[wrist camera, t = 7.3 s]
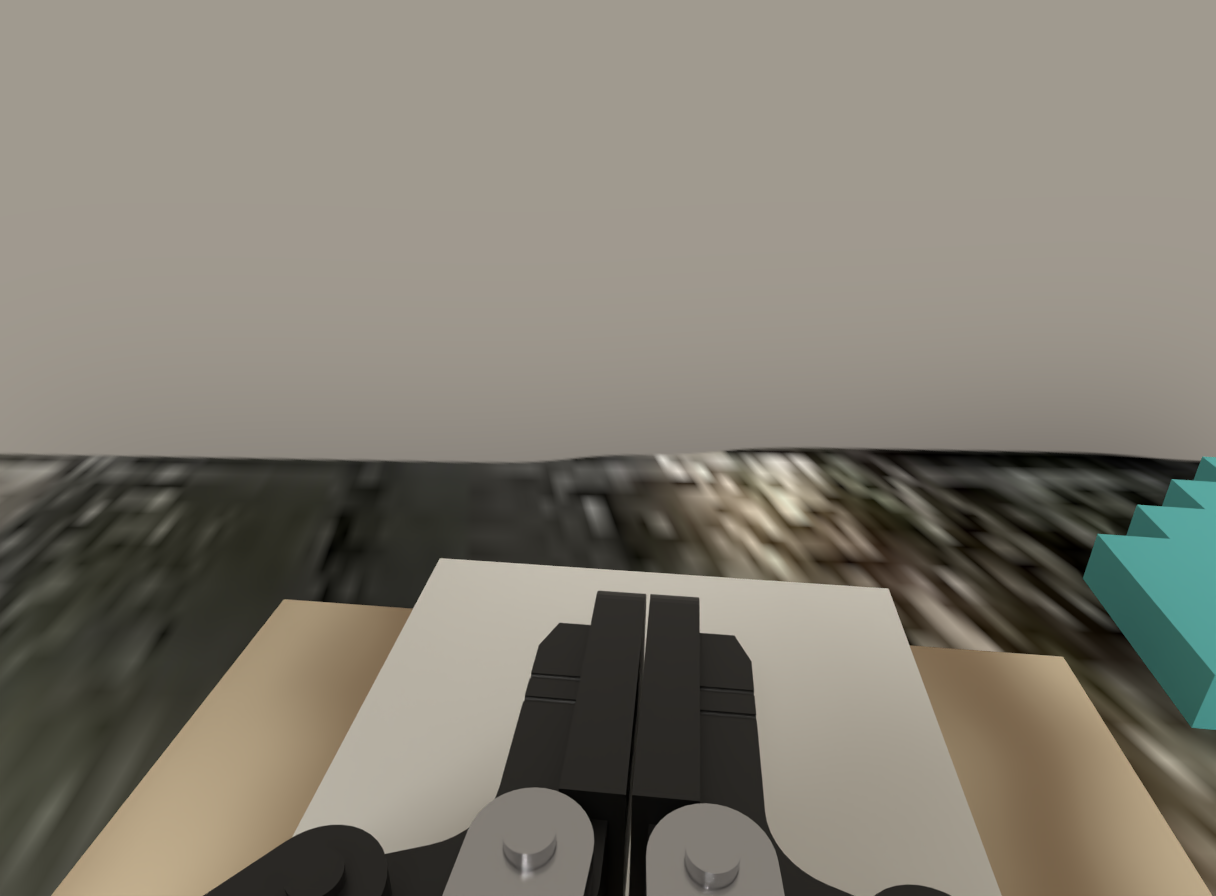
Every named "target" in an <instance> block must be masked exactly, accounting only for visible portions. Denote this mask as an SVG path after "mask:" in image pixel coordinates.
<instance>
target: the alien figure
mask: <svg viewBox="0 0 1216 896" xmlns="http://www.w3.org/2000/svg"><path fill="white" fill-rule="evenodd" d="M1083 579H1084V581H1085V582H1086V583H1087V585H1088V586H1089V587H1090V589H1091V590H1092V592H1093V593H1094V594H1095V596H1096V597H1097V598H1098V600H1099V601H1100V603H1101V604H1102V605H1103V607H1104V608H1105V609H1106V611H1107V612H1108V614H1109V615H1110V616H1111V618H1112V619H1113V620H1114V622H1115V623H1116V625H1117V626H1118V627H1119V629H1120V630H1121V631H1122V633H1123V634H1124V636H1125V637H1126V638H1127V640H1128V641H1129V642H1130V644H1131V645H1132V647H1133V648H1134V649H1135V651H1136V652H1137V653H1138V655H1139V656H1140V658H1141V659H1142V660H1143V662H1144V663H1145V664H1146V666H1147V667H1148V669H1149V670H1150V671H1151V673H1152V674H1153V675H1154V677H1155V678H1156V679H1157V681H1158V682H1159V684H1160V685H1161V686H1162V688H1163V689H1164V690H1165V692H1166V693H1167V695H1168V696H1169V697H1170V699H1171V700H1172V701H1173V703H1174V704H1175V706H1176V707H1177V708H1178V710H1179V711H1180V712H1181V714H1182V715H1183V717H1184V718H1185V719H1186V721H1187V722H1188V723H1189V725H1190V726H1191V728H1201V729H1212V730H1216V457H1202V459H1201V462H1200V465H1199V467H1198V470H1197V472H1196V475H1195V478H1194V480H1193V481H1191V480H1175V479H1172V480H1171V483H1170V485H1169V488H1168V491H1167V494H1166V496H1165V499H1164V502H1163V505H1162V506H1147V505H1137V506H1136V509H1135V512H1134V515H1133V518H1132V521H1131V524H1130V526H1129V529H1128V532H1127V535H1126V536H1121V535H1106V534H1097V537H1096V540H1095V543H1094V546H1093V549H1092V552H1091V555H1090V558H1089V561H1088V564H1087V568H1086V571H1085V574H1084V577H1083Z"/></svg>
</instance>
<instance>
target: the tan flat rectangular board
mask: <svg viewBox="0 0 1216 896" xmlns="http://www.w3.org/2000/svg"><path fill="white" fill-rule="evenodd" d="M412 610H413V609H409V608H395V607H382V606H368V605H355V604H341V603H328V602H314V601H301V600H287V599H284V600H283V601H282V602H281V604H280V605H279V606H278V607H277V609H276V610H275V611H274V613H273V614H272V615H271V616H270V618H269V619H268V620H267V621H266V623H265V624H264V625H263V627H262V628H261V629H260V630H259V632H258V633H257V634H256V635H255V637H254V638H253V639H252V641H251V642H250V643H249V644H248V646H247V647H246V648H245V649H244V651H243V652H242V653H241V655H240V656H239V657H238V658H237V660H236V661H235V662H234V663H233V665H232V666H231V667H230V669H229V670H228V671H227V672H226V674H225V675H224V676H223V677H222V679H221V680H220V681H219V683H218V684H217V685H216V686H215V688H214V689H213V690H212V692H211V693H210V694H209V695H208V697H207V698H206V699H205V700H204V702H203V703H202V704H201V706H200V707H199V708H198V709H197V711H196V712H195V713H194V714H193V716H192V717H191V718H190V720H189V721H188V722H187V723H186V725H185V726H184V727H183V728H182V730H181V731H180V732H179V734H178V735H177V736H176V737H175V739H174V740H173V741H172V742H171V744H170V745H169V746H168V748H167V749H166V750H165V751H164V753H163V754H162V755H161V756H160V758H159V759H158V760H157V762H156V763H155V764H154V765H153V767H152V768H151V769H150V770H149V772H148V773H147V774H146V776H145V777H144V778H143V779H142V781H141V782H140V783H139V784H138V786H137V787H136V788H135V790H134V791H133V792H132V793H131V795H130V796H129V797H128V798H127V800H126V801H125V802H124V804H123V805H122V806H121V807H120V809H119V810H118V811H117V813H116V814H115V815H114V816H113V818H112V819H111V820H110V821H109V823H108V824H107V825H106V827H105V828H104V829H103V830H102V832H101V833H100V834H99V835H98V837H97V838H96V839H95V841H94V842H93V843H92V844H91V846H90V847H89V848H88V849H87V851H86V852H85V853H84V855H83V856H82V857H81V858H80V860H79V861H78V862H77V863H76V865H75V866H74V867H73V869H72V870H71V871H70V872H69V874H68V875H67V876H66V877H65V879H64V880H63V881H62V883H61V884H60V885H59V886H58V888H57V889H56V890H55V891H54V893H53V894H52V895H51V896H203V895H205V894H206V893H208V892H209V891H211V890H212V889H214V888H215V887H217V886H218V885H220V884H221V883H223V882H225V881H226V880H228V879H229V878H231V877H232V876H234V875H235V874H237V873H238V872H240V871H241V870H243V869H244V868H246V867H247V866H249V865H250V864H252V863H253V862H255V861H256V860H258V859H259V858H261V857H262V856H264V855H265V854H267V853H268V852H270V851H272V850H273V849H275V848H276V847H278V846H279V845H281V844H282V843H284V842H285V841H287V840H289V839H290V838H292V836H293V834H294V833H295V831H296V829H297V827H298V825H299V823H300V821H301V819H302V817H303V816H304V814H305V812H306V810H307V808H308V806H309V804H310V802H311V800H312V799H313V797H314V795H315V793H316V791H317V789H318V787H319V785H320V784H321V782H322V780H323V778H324V776H325V774H326V772H327V770H328V768H329V767H330V765H331V763H332V761H333V759H334V757H335V755H336V753H337V751H338V750H339V748H340V746H341V744H342V742H343V740H344V738H345V736H346V734H347V733H348V731H349V729H350V727H351V725H352V723H353V721H354V719H355V718H356V716H357V714H358V712H359V710H360V708H361V706H362V704H363V702H364V701H365V699H366V697H367V695H368V693H369V691H370V689H371V687H372V685H373V684H374V682H375V680H376V678H377V676H378V674H379V672H380V670H381V669H382V667H383V665H384V663H385V661H386V659H387V657H388V655H389V653H390V652H391V650H392V648H393V646H394V644H395V642H396V640H397V638H398V636H399V635H400V633H401V631H402V629H403V627H404V625H405V623H406V621H407V619H408V618H409V616H410V614H411V612H412ZM910 648H911V651H912V654H913V656H914V659H915V662H916V665H917V667H918V670H919V673H920V675H921V678H922V681H923V684H924V686H925V689H926V692H927V694H928V697H929V700H930V703H931V705H932V708H933V711H934V713H935V716H936V719H937V722H938V724H939V727H940V730H941V732H942V735H943V738H944V741H945V743H946V746H947V749H948V751H949V754H950V757H951V760H952V762H953V765H954V768H955V770H956V773H957V776H958V778H959V781H960V784H961V787H962V789H963V792H964V795H965V797H966V800H967V803H968V806H969V808H970V811H971V814H972V816H973V819H974V822H975V825H976V827H977V830H978V833H979V835H980V838H981V841H982V844H983V846H984V849H985V852H986V854H987V857H988V860H989V863H990V865H991V868H992V871H993V873H994V876H995V879H996V881H997V884H998V887H999V890H1000V892H1001V895H1002V896H1212V894H1211V893H1210V891H1209V890H1208V888H1207V886H1206V885H1205V883H1204V882H1203V880H1202V878H1201V877H1200V875H1199V874H1198V872H1197V870H1196V869H1195V867H1194V866H1193V864H1192V862H1191V861H1190V859H1189V858H1188V856H1187V854H1186V853H1185V851H1184V850H1183V848H1182V846H1181V845H1180V843H1179V842H1178V840H1177V838H1176V837H1175V835H1174V834H1173V832H1172V830H1171V829H1170V827H1169V826H1168V824H1167V822H1166V821H1165V819H1164V818H1163V816H1162V814H1161V813H1160V811H1159V810H1158V808H1157V806H1156V805H1155V803H1154V802H1153V800H1152V798H1151V797H1150V795H1149V794H1148V792H1147V790H1146V789H1145V787H1144V786H1143V784H1142V782H1141V781H1140V779H1139V778H1138V776H1137V774H1136V773H1135V771H1134V770H1133V768H1132V766H1131V765H1130V763H1129V762H1128V760H1127V758H1126V757H1125V755H1124V754H1123V752H1122V750H1121V749H1120V747H1119V746H1118V744H1117V742H1116V741H1115V739H1114V737H1113V736H1112V734H1111V733H1110V731H1109V729H1108V728H1107V726H1106V725H1105V723H1104V721H1103V720H1102V718H1101V717H1100V715H1099V713H1098V712H1097V710H1096V709H1095V707H1094V705H1093V704H1092V702H1091V701H1090V699H1089V697H1088V696H1087V694H1086V693H1085V691H1084V689H1083V688H1082V686H1081V685H1080V683H1079V681H1078V680H1077V678H1076V677H1075V675H1074V673H1073V672H1072V670H1071V669H1070V667H1069V665H1068V664H1067V662H1066V661H1065V659H1064V657H1058V656H1044V655H1031V654H1017V653H1004V652H990V651H977V650H963V649H950V648H936V647H923V646H910Z"/></svg>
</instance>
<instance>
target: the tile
mask: <svg viewBox="0 0 1216 896" xmlns="http://www.w3.org/2000/svg"><path fill="white" fill-rule="evenodd" d="M597 591H612V592H626V593H641V594H646V625H645V648H646V637H647V626H648V615H649V604H650V594H658V595H672V596H686V597H699V601H700V633H708V634H722V635H735V637H736V639H737V640H738V642H739V643H740V645H741V646H742V648H743V649H744V651H745V652H746V654H747V655H748V657H749V658H750V660H751V661H752V672H753V683H754V696H755V705H756V720H757V727H758V738H759V749H760V760H761V771H762V782H763V793H764V804H765V814H766V819H767V823H768V826H769V829H770V832H771V834H772V836H773V838H774V839H775V841H776V843H777V844H778V846H779V847H780V849H781V850H782V851H783V853H784V854H785V855H786V856H787V857H788V858H789V859H790V860H791V861H792V862H793V863H794V864H795V865H796V866H798V867H799V868H800V869H801V870H803V871H804V872H806V873H807V874H809V875H810V876H812V877H813V878H815V879H817V880H819V881H821V882H823V883H825V884H827V885H830V886H832V887H835V888H837V889H839V890H842V891H844V892H847V893H849V894H852V895H854V896H875V895H876V894H877V893H879V892H881V891H882V890H884V889H887V888H890V887H893V886H897V885H906V884H909V885H921V886H926V887H931V888H934V889H937V890H940V891H942V892H945V893H947V894H949V895H951V896H1002V895H1001V892H1000V890H999V887H998V884H997V881H996V879H995V876H994V873H993V871H992V868H991V865H990V863H989V860H988V857H987V854H986V852H985V849H984V846H983V844H982V841H981V838H980V835H979V833H978V830H977V827H976V825H975V822H974V819H973V816H972V814H971V811H970V808H969V806H968V803H967V800H966V797H965V795H964V792H963V789H962V787H961V784H960V781H959V778H958V776H957V773H956V770H955V768H954V765H953V762H952V760H951V757H950V754H949V751H948V749H947V746H946V743H945V741H944V738H943V735H942V732H941V730H940V727H939V724H938V722H937V719H936V716H935V713H934V711H933V708H932V705H931V703H930V700H929V697H928V694H927V692H926V689H925V686H924V684H923V681H922V678H921V675H920V673H919V670H918V667H917V665H916V662H915V659H914V656H913V654H912V651H911V648H910V646H909V643H908V640H907V638H906V635H905V632H904V629H903V627H902V624H901V621H900V619H899V616H898V613H897V610H896V608H895V605H894V602H893V600H892V597H891V594H890V591H889V589H886V588H871V587H856V586H842V585H827V584H812V583H797V582H783V581H768V580H753V579H738V578H724V577H709V576H694V575H679V574H665V573H650V572H635V571H620V570H606V569H591V568H576V567H561V566H547V565H532V564H517V563H502V562H488V561H473V560H458V559H443V558H440V559H439V561H438V563H437V565H436V567H435V569H434V570H433V572H432V574H431V576H430V578H429V580H428V582H427V584H426V586H425V587H424V589H423V591H422V593H421V595H420V597H419V599H418V601H417V603H416V604H415V606H414V608H413V610H412V612H411V614H410V616H409V618H408V619H407V621H406V623H405V625H404V627H403V629H402V631H401V633H400V635H399V636H398V638H397V640H396V642H395V644H394V646H393V648H392V650H391V652H390V653H389V655H388V657H387V659H386V661H385V663H384V665H383V667H382V669H381V670H380V672H379V674H378V676H377V678H376V680H375V682H374V684H373V685H372V687H371V689H370V691H369V693H368V695H367V697H366V699H365V701H364V702H363V704H362V706H361V708H360V710H359V712H358V714H357V716H356V718H355V719H354V721H353V723H352V725H351V727H350V729H349V731H348V733H347V734H346V736H345V738H344V740H343V742H342V744H341V746H340V748H339V750H338V751H337V753H336V755H335V757H334V759H333V761H332V763H331V765H330V767H329V768H328V770H327V772H326V774H325V776H324V778H323V780H322V782H321V784H320V785H319V787H318V789H317V791H316V793H315V795H314V797H313V799H312V800H311V802H310V804H309V806H308V808H307V810H306V812H305V814H304V816H303V817H302V819H301V821H300V823H299V825H298V827H297V829H296V831H295V833H294V834H293V836H292V837H294V836H296V835H297V834H300V833H302V832H304V831H307V830H310V829H313V828H316V827H320V826H327V825H348V826H354V827H357V828H360V829H363V830H364V831H366V832H368V833H369V834H371V835H372V836H373V837H374V838H375V839H376V840H377V841H378V842H379V843H380V845H381V846H382V848H383V850H384V853H385V854H387V853H392V852H397V851H402V850H406V849H411V848H416V847H421V846H426V845H431V844H434V843H438V842H442V841H444V840H447V839H449V838H452V837H454V836H456V835H458V834H459V833H461V832H463V831H465V830H466V829H468V828H469V827H470V825H471V823H472V821H473V820H474V818H475V817H476V815H477V814H478V813H479V812H480V811H481V810H482V809H483V808H484V807H485V806H486V805H487V804H488V803H490V802H491V801H492V800H494V799H495V797H496V795H497V792H498V789H499V786H500V783H501V779H502V776H503V772H504V768H505V765H506V761H507V758H508V754H509V750H510V747H511V743H512V740H513V736H514V732H515V729H516V725H517V722H518V718H519V714H520V711H521V707H522V704H523V701H524V699H525V693H526V689H527V686H528V682H529V678H531V671H532V668H533V664H534V660H535V657H536V653H537V650H538V646H539V644H540V643H541V642H542V641H543V640H544V639H545V638H546V637H547V636H548V635H549V633H550V632H551V631H552V630H553V629H554V628H555V627H556V626H557V625H558V624H559V623H571V624H584V625H591V620H592V615H593V610H594V605H595V599H596V595H597ZM644 659H645V651H644ZM630 844H631V836H630ZM629 874H630V847H629V858H628V870H627V881H626V892H625V896H629Z"/></svg>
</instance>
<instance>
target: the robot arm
mask: <svg viewBox="0 0 1216 896" xmlns="http://www.w3.org/2000/svg"><path fill="white" fill-rule="evenodd" d="M645 625H646V594H641V593H626V592H612V591H597V595H596V599H595V605H594V610H593V615H592V620H591V625H584V624H571V623H559V624H558V625H557V626H556V627H555V628H554V629H553V630H552V631H551V632H550V633H549V635H548V636H547V637H546V638H545V639H544V640H543V641H542V642H541V643H540V644H539V646H538V650H537V653H536V657H535V660H534V664H533V668H532V671H531V678H529V682H528V686H527V689H526V693H525V699H524V701H523V704H522V707H521V711H520V714H519V718H518V722H517V725H516V729H515V732H514V736H513V740H512V743H511V747H510V750H509V754H508V758H507V761H506V765H505V768H504V772H503V776H502V779H501V783H500V786H499V789H498V792H497V795H496V797H495V799H494V800H492V801H491V802H490V803H488V804H487V805H486V806H485V807H484V808H483V809H482V810H481V811H480V812H479V813H478V814H477V815H476V817H475V818H474V820H473V821H472V823H471V825H470V827H469V828H468V829H466V830H465V831H463V832H461V833H459V834H458V835H456V836H454V837H452V838H449V839H447V840H444V841H442V842H438V843H434V844H431V845H426V846H421V847H416V848H411V849H406V850H402V851H397V852H392V853H387V854H385V853H384V850H383V848H382V846H381V845H380V843H379V842H378V841H377V840H376V839H375V838H374V837H373V836H372V835H371V834H369V833H368V832H366V831H364V830H363V829H360V828H357V827H354V826H348V825H327V826H320V827H316V828H313V829H310V830H307V831H304V832H302V833H300V834H297V835H296V836H294V837H292V838H290V839H289V840H287V841H285V842H284V843H282V844H281V845H279V846H278V847H276V848H275V849H273V850H272V851H270V852H268V853H267V854H265V855H264V856H262V857H261V858H259V859H258V860H256V861H255V862H253V863H252V864H250V865H249V866H247V867H246V868H244V869H243V870H241V871H240V872H238V873H237V874H235V875H234V876H232V877H231V878H229V879H228V880H226V881H225V882H223V883H221V884H220V885H218V886H217V887H215V888H214V889H212V890H211V891H209V892H208V893H206V894H205V895H203V896H625V892H626V881H627V870H628V858H629V847H630V874H629V896H854V895H852V894H849V893H847V892H844V891H842V890H839V889H837V888H835V887H832V886H830V885H827V884H825V883H823V882H821V881H819V880H817V879H815V878H813V877H812V876H810V875H809V874H807V873H806V872H804V871H803V870H801V869H800V868H799V867H798V866H796V865H795V864H794V863H793V862H792V861H791V860H790V859H789V858H788V857H787V856H786V855H785V854H784V853H783V851H782V850H781V849H780V847H779V846H778V844H777V843H776V841H775V839H774V838H773V836H772V834H771V832H770V829H769V826H768V823H767V819H766V814H765V804H764V793H763V782H762V771H761V760H760V749H759V738H758V727H757V720H756V705H755V696H754V683H753V672H752V661H751V660H750V658H749V657H748V655H747V654H746V652H745V651H744V649H743V648H742V646H741V645H740V643H739V642H738V640H737V639H736V637H735V635H722V634H708V633H700V601H699V597H686V596H672V595H658V594H650V604H649V615H648V626H647V637H646V648H645ZM644 651H645V659H644ZM630 836H631V844H630ZM875 896H951V895H949V894H947V893H945V892H942V891H940V890H937V889H934V888H931V887H926V886H921V885H909V884H906V885H897V886H893V887H890V888H887V889H884V890H882V891H881V892H879V893H877V894H876V895H875Z"/></svg>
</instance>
